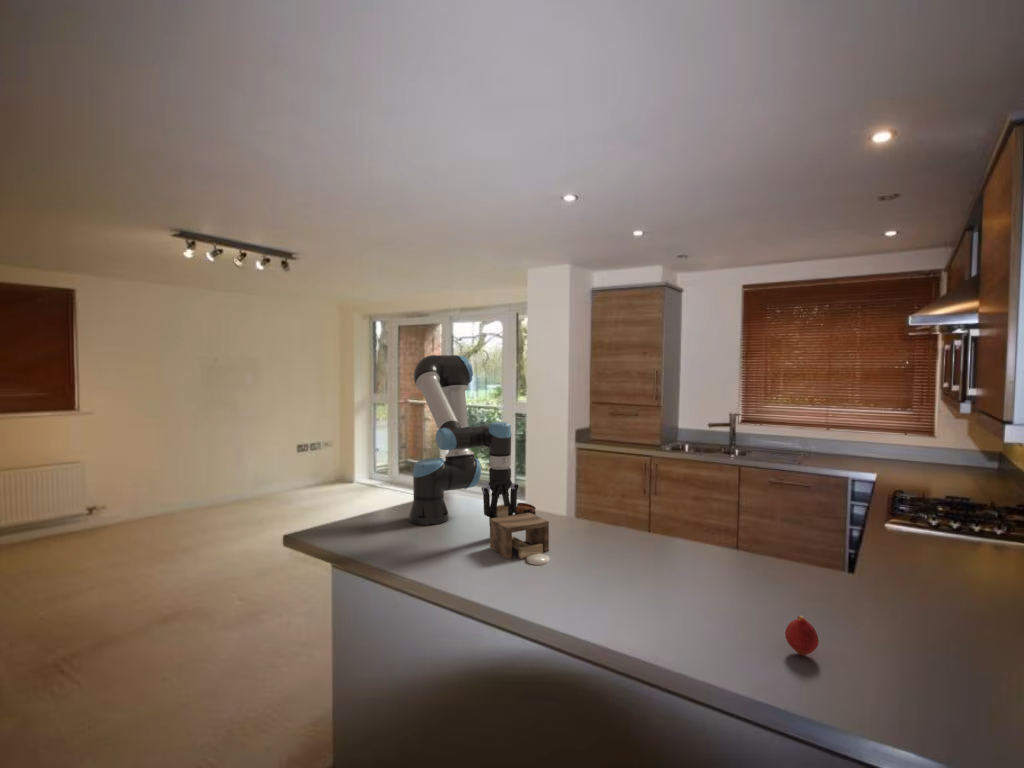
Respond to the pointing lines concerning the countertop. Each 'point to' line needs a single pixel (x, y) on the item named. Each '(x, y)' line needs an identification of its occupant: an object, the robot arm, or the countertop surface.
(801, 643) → the onion
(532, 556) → the ceramic disc
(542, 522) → the walnut bench
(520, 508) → the pottery mug
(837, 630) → the countertop surface
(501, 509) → the wooden mallet
